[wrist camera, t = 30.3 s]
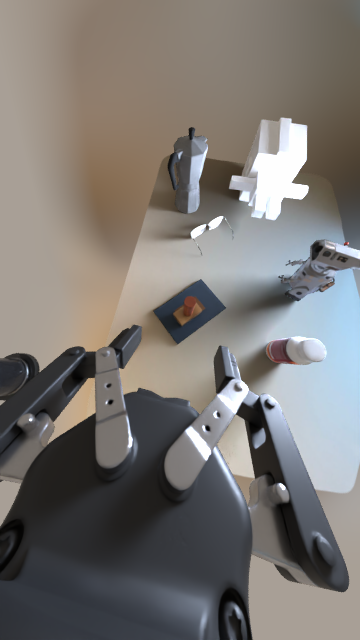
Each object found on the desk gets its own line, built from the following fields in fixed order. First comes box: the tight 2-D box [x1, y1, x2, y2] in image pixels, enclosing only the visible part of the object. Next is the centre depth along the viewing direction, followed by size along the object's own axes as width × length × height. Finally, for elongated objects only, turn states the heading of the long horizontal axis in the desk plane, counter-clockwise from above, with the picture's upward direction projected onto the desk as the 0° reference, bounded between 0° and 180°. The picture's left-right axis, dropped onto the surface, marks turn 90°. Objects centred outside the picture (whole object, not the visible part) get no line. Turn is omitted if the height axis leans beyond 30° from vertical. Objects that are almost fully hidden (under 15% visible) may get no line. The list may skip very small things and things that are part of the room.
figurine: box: [279, 239, 360, 301], centre depth 36 cm, size 9×12×15 cm
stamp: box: [173, 296, 202, 327], centre depth 35 cm, size 7×4×10 cm, turn 126°
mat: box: [154, 279, 226, 344], centre depth 40 cm, size 18×12×1 cm, turn 127°
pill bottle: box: [266, 337, 326, 365], centre depth 33 cm, size 6×6×11 cm
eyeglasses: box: [190, 216, 234, 254], centre depth 46 cm, size 14×8×4 cm, turn 121°
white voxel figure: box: [229, 118, 308, 220], centre depth 46 cm, size 15×25×28 cm
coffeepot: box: [168, 127, 208, 213], centre depth 43 cm, size 15×9×18 cm, turn 136°
